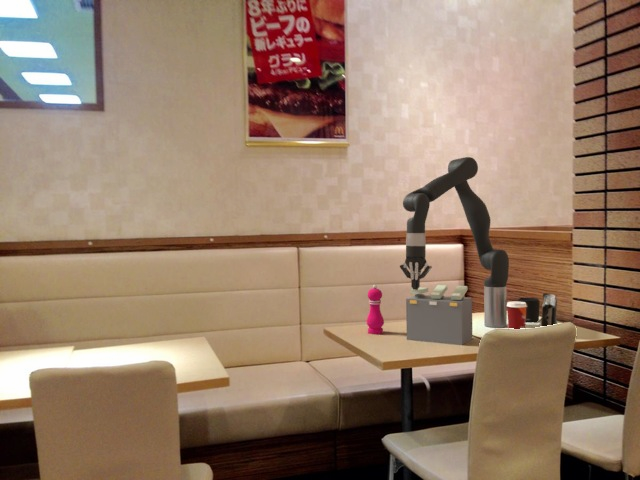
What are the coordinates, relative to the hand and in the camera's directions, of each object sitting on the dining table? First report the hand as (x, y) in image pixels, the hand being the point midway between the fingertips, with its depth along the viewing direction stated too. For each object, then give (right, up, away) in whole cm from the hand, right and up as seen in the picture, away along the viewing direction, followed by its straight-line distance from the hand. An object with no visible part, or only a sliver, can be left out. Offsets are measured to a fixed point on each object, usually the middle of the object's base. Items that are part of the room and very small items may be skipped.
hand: (415, 289), depth 225 cm
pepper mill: (-14, -20, +15) cm, 29 cm away
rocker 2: (+9, -1, 0) cm, 9 cm away
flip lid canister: (+39, -19, -1) cm, 44 cm away
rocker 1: (+2, -1, +4) cm, 4 cm away
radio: (+56, -19, +8) cm, 59 cm away
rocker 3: (+16, -1, -5) cm, 17 cm away
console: (+9, -20, 0) cm, 22 cm away
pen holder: (+57, -18, +35) cm, 69 cm away
